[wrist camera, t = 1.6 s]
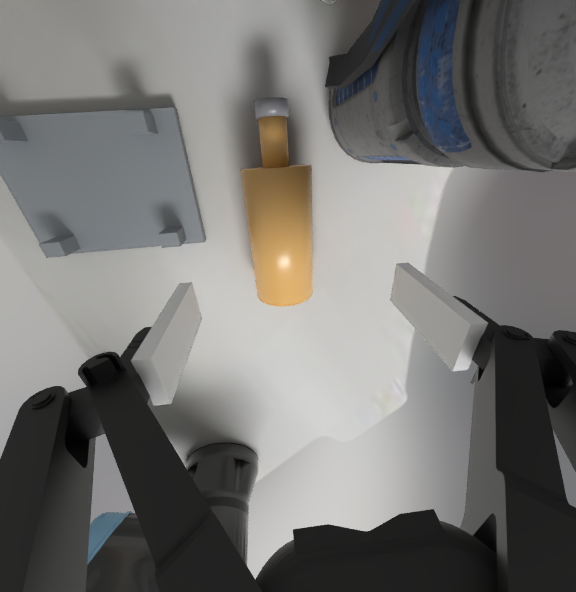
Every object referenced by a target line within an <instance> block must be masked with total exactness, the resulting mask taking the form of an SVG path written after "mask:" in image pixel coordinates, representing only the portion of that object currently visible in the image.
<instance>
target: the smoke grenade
mask: <svg viewBox="0 0 576 592" xmlns="http://www.w3.org/2000/svg"><path fill="white" fill-rule="evenodd" d="M329 62H330V64H329V69H328V74H327V79H326V84H325V87H332V88H331V93H330V100H329V118H330V124H331V129H332V131H333V134H334V137H335V139H336V141H337V142H338V144H339V146H340V147H341V148H342V149H343V150H344V151H345V152H346V154H348V155H349V156H351V157H352V158H354V159H356V160H359V161H361V162H367V163H402V164H422V165H427V166H437V167H462V166H467V167H471V168H482V169H496V170H514V171H533V172H546V171H554V170H555V171H570V172H576V0H381V2H380V4H379V6H378V9H377V11H376V14H375V16H374V18H373V21H372V22H371V23H370V24H369V26H368V27H367V28H366V29H365V31H364V32H363V33H362V35H361V36H360V37H359V38H358V40H357V41H356V42H355V44H354V45H353V46H352V47H351V49H350V50H349V51H348V53H347V54H343V55H337V56H331V57H329Z"/></svg>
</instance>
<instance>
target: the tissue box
mask: <svg viewBox="0 0 576 592" xmlns="http://www.w3.org/2000/svg"><path fill="white" fill-rule="evenodd" d="M321 1H323V2H325V3H327V4H333V3H335V2H336V1H337V0H321Z"/></svg>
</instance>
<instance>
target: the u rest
mask: <svg viewBox="0 0 576 592" xmlns="http://www.w3.org/2000/svg"><path fill="white" fill-rule="evenodd" d="M0 174H1V176H2V178H3V179H4V181H5V183H6V185H7V186H8V188H9V190H10V192H11V193H12V195H13V197H14V199H15V200H16V202H17V204H18V206H19V208H20V209H21V211H22V213H23V215H24V216H25V218H26V220H27V222H28V223H29V225H30V227H31V229H32V230H33V232H34V234H35V236H36V237H37V239H38V241H39V243H40V244H39V245H40V247H41V249H42V251H43V252H44V254H45V256H46V258H48V257H60V256H67V255H69V254H72V253H84V252H95V251H107V250H119V249H131V248H142V247H154V246H161V247H162V248H165V247H177V246H181V245H182V244H189V243H201V242H205V241H206V238H205V233H204V229H203V224H202V220H201V215H200V211H199V207H198V202H197V198H196V193H195V189H194V184H193V180H192V175H191V171H190V167H189V162H188V158H187V153H186V149H185V144H184V140H183V136H182V131H181V127H180V122H179V118H178V113H177V109H176V108H174V107H170V108H151V109H132V110H114V111H95V112H77V113H58V114H40V115H21V116H2V117H0Z"/></svg>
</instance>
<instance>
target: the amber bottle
mask: <svg viewBox="0 0 576 592" xmlns="http://www.w3.org/2000/svg"><path fill="white" fill-rule="evenodd" d="M254 106H255V116H256V119H257V120H258V124H259V134H260V144H261V155H262V165H263V167H258V168H248V169H241V170H240V171H241V179H242V186H243V193H244V201H245V208H246V215H247V223H248V230H249V237H250V245H251V252H252V259H253V267H254V274H255V281H256V289H257V296H258V298H259V300H261V301H262V302H263V303H266V304H268V305H272V306H292V305H296V304H299V303H302V302H304V301H306V300H307V299H309V298H310V297H311V295H312V293H313V272H312V168H311V165H289V155H288V135H287V118H288V117H289V109H288V99H286V98H264V99H259V100H256V101H254Z"/></svg>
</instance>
